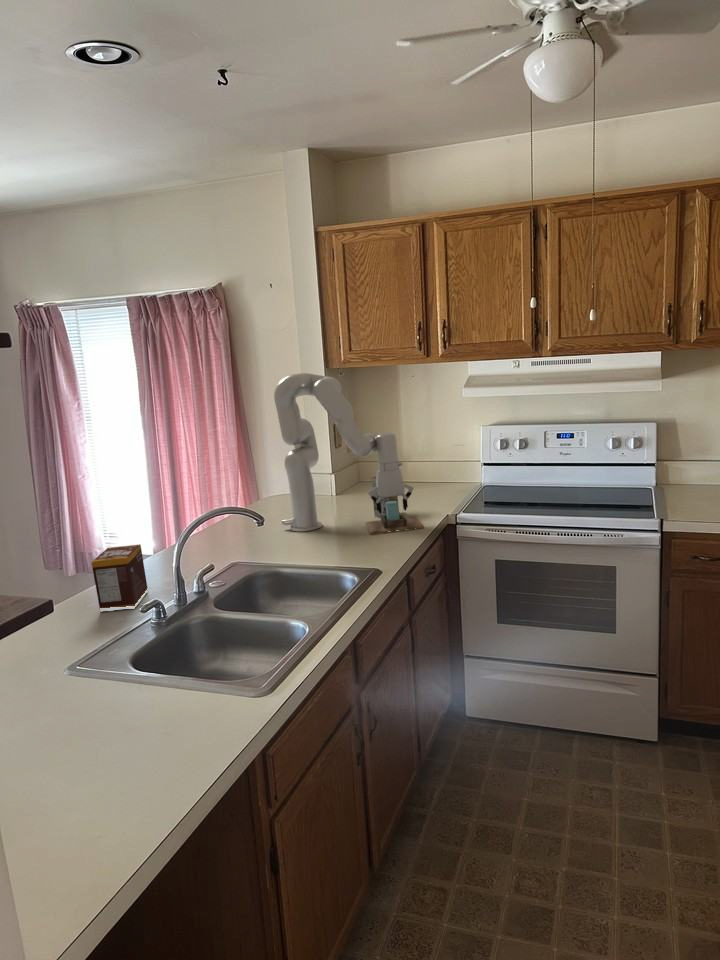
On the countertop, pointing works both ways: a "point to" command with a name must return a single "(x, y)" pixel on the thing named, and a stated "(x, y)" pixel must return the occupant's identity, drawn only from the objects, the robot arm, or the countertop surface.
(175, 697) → the countertop surface
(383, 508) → the coffee box
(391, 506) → the keyed block
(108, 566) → the supplement box
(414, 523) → the keyed holder
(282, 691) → the countertop surface
